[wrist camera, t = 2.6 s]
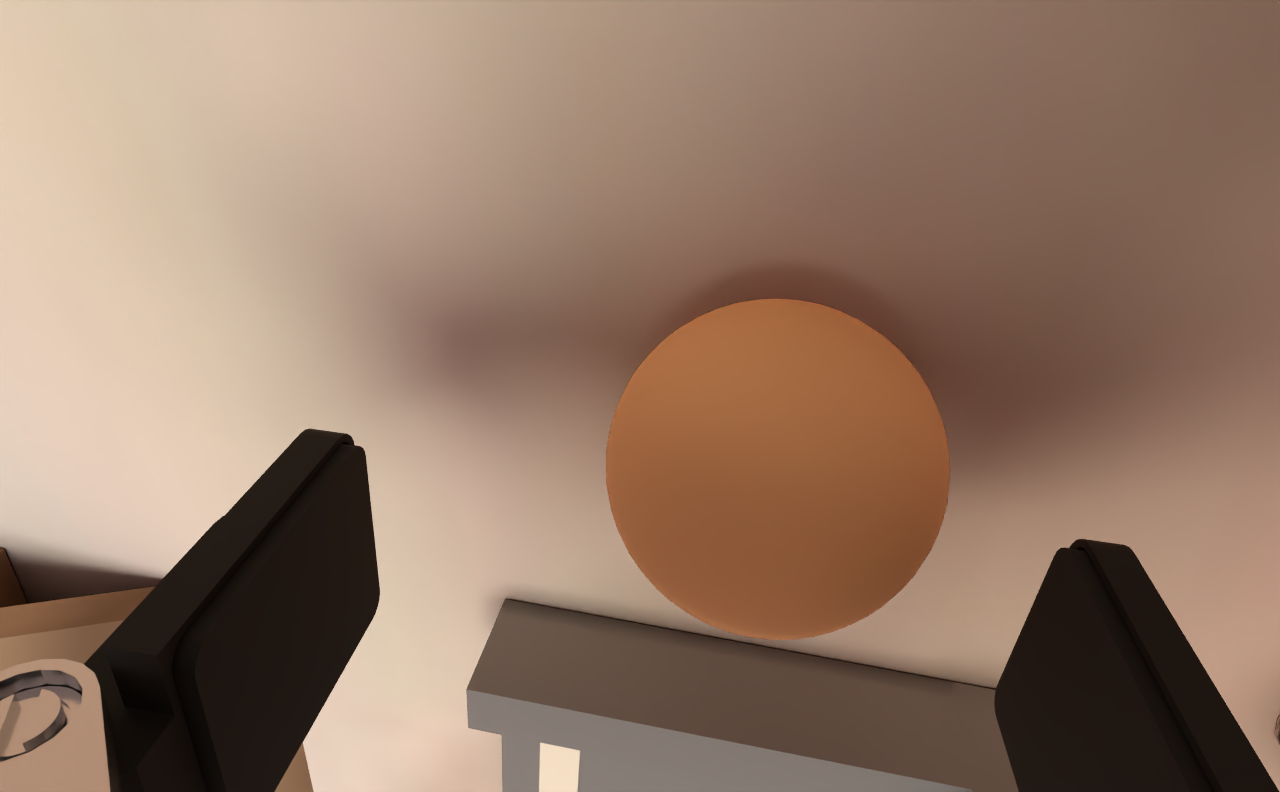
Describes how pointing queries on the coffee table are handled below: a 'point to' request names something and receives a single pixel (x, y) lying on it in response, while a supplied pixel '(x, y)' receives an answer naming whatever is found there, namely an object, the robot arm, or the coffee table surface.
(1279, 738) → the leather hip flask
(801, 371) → the ball
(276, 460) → the robot arm
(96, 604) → the ramp
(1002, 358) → the coffee table surface
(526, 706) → the box
